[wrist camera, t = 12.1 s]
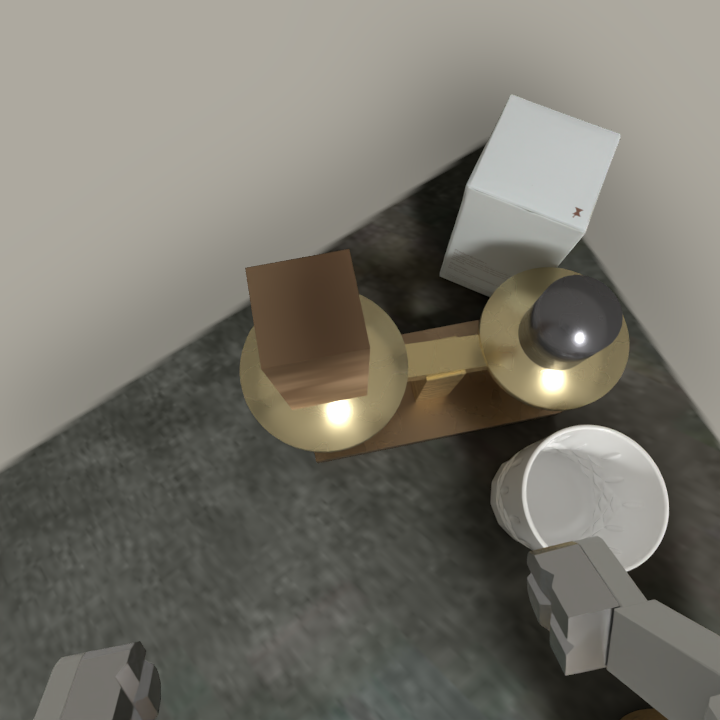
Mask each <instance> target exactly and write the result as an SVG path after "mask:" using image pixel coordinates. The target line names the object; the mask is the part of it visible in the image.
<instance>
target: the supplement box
mask: <svg viewBox="0 0 720 720" xmlns="http://www.w3.org/2000/svg"><path fill="white" fill-rule="evenodd" d="M620 137H621V135H620V134H619V133H617V132H614V131H611V130H608V129H605V128H602V127H600V126H597V125H594V124H591V123H588V122H586V121H583V120H580V119H578V118H575V117H572V116H569V115H567V114H564V113H561V112H558V111H556V110H553V109H550V108H547V107H545V106H542V105H539V104H537V103H534V102H531V101H529V100H526V99H523V98H520V97H518V96H515V95H510V97H509V99H508V101H507V103H506V105H505V107H504V109H503V111H502V113H501V115H500V117H499V119H498V122H497V123H496V125H495V128H494V130H493V131H492V133H491V136H490V137H489V139H488V141H487V143H486V145H485V147H484V149H483V151H482V153H481V155H480V157H479V159H478V161H477V164H476V166H475V168H474V170H473V172H472V174H471V176H470V178H469V180H468V182H467V184H466V187H465V192H464V196H463V200H462V203H461V206H460V209H459V213H458V216H457V219H456V222H455V225H454V228H453V231H452V234H451V238H450V241H449V244H448V247H447V250H446V253H445V257H444V261H443V264H442V267H441V271H440V277H442V278H445V279H447V280H450V281H452V282H454V283H457V284H459V285H461V286H464V287H466V288H469V289H471V290H474V291H476V292H478V293H481V294H483V295H486V296H488V297H491V296H492V294H493V293H494V292H495V290H496V289H497V288H498V287H499V286H500V285H501V284H502V283H504V282H505V281H506V280H508V279H509V278H511V277H512V276H514V275H516V274H518V273H521V272H523V271H526V270H530V269H534V268H542V267H554V268H557V267H558V265H559V264H560V263H561V262H562V261H563V259H564V258H565V257H566V256H567V255H568V253H569V252H570V251H571V250H572V249H573V247H574V246H575V245H576V244H577V242H578V241H579V240H580V239H581V238H582V237H583V235H584V234H585V232H586V230H587V227H588V224H589V221H590V218H591V216H592V213H593V210H594V208H595V204H596V202H597V199H598V196H599V194H600V191H601V188H602V185H603V182H604V180H605V177H606V174H607V171H608V168H609V166H610V163H611V160H612V158H613V155H614V153H615V150H616V148H617V145H618V142H619V140H620Z"/></svg>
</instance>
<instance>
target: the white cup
mask: <svg viewBox="0 0 720 720" xmlns="http://www.w3.org/2000/svg"><path fill="white" fill-rule="evenodd" d="M490 504H491V506H492V509H493V511H494V514H495V517H496V519H497V522H498V524H499V525H500V526H501V527H502V528H503V529H504V530H505V531H506V532H507V533H508V534H509V535H510V536H511V537H512V538H513V539H514V540H515V541H517V542H520V543H522V544H523V545H525V546H526V547H527V548H529V549H531V550H537V549H541V548H545V547H549V546H553V545H557V544H561V543H566V542H570V541H573V542H574V541H577V540H581V539H585V538H589V537H593V536H599V537H600V538H602V539H603V540H604V542H605V543H606V544H607V546H608V547H609V549H610V550H611V551H612V553H613V554H614V555H615V557H616V558H617V560H618V561H619V562H620V564H621V565H622V566H623V568H624V569H625V570H626V572H627V571H630V570H632V569H634V568H636V567H638V566H639V565H641V564H642V563H644V562H645V561H646V560H647V559H648V558H649V557H650V556H651V555H652V554H653V553H654V552H655V550H656V549H657V548H658V546H659V544H660V543H661V541H662V539H663V536H664V534H665V531H666V528H667V523H668V517H669V500H668V494H667V489H666V486H665V482H664V480H663V477H662V475H661V473H660V471H659V469H658V467H657V466H656V464H655V462H654V461H653V460H652V458H651V457H650V456H649V454H648V453H647V452H646V451H645V450H644V449H643V448H642V447H641V446H640V445H639V444H637V443H636V442H635V441H634V440H632V439H631V438H629V437H628V436H626V435H624V434H622V433H620V432H618V431H616V430H613V429H610V428H607V427H603V426H598V425H576V426H571V427H567V428H564V429H562V430H559V431H557V432H555V433H553V434H551V435H549V436H547V437H545V438H543V439H541V440H539V441H537V442H535V443H533V444H531V445H529V446H527V447H526V448H524V449H523V450H521V451H519V452H518V453H516V454H515V455H514V456H513V457H512V458H510V459H509V460H507V461H505V462H504V463H502V464H501V466H500V468H499V470H498V471H497V473H496V475H495V477H494V478H493V480H492V483H491V501H490Z"/></svg>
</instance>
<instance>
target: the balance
mask: <svg viewBox="0 0 720 720" xmlns="http://www.w3.org/2000/svg"><path fill="white" fill-rule="evenodd" d="M359 297H360V302H361V306H362V311H363V316H364V321H365V325H366V330H367V335H368V339H369V344H370V361H369V376H368V392H367V395H366V396H361V397H356V398H351V399H346V400H341V401H336V402H331V403H326V404H320V405H315V406H310V407H305V408H300V409H295V410H292V409H291V408H290V406H289V405H288V404H287V402H286V401H285V400H284V398H283V397H282V396H281V395H280V393H279V392H278V391H277V389H276V388H275V387H274V385H273V384H272V383H271V381H270V380H269V379H268V377H267V376H266V375H265V373H264V372H263V371H262V370H261V366H260V359H259V353H258V346H257V340H256V334H255V327H254V326H253V328H252V329H251V331H250V333H249V335H248V337H247V339H246V341H245V344H244V347H243V350H242V355H241V360H240V381H241V386H242V391H243V395H244V397H245V400H246V403H247V405H248V407H249V408H250V410H251V412H252V414H253V415H254V416H255V418H256V419H257V421H258V422H259V423H260V424H261V425H262V426H263V427H264V428H265V429H266V430H267V431H268V432H270V433H271V434H272V435H273V436H275V437H276V438H277V439H279V440H281V441H282V442H284V443H286V444H288V445H290V446H293V447H295V448H298V449H302V450H305V451H311V452H315V457H316V462H317V463H322V462H327V461H332V460H337V459H341V458H346V457H351V456H356V455H361V454H366V453H371V452H376V451H381V450H386V449H391V448H396V447H401V446H406V445H411V444H416V443H421V442H426V441H430V440H435V439H440V438H445V437H450V436H455V435H460V434H465V433H470V432H475V431H480V430H485V429H490V428H495V427H500V426H505V425H510V424H514V423H519V422H524V421H529V420H534V419H539V418H544V417H549V416H554V415H557V414H559V413H561V412H562V411H565V410H572V409H576V408H579V407H582V406H585V405H587V404H589V403H592V402H594V401H596V400H598V399H599V398H601V397H602V396H604V395H605V394H606V393H607V392H609V391H610V390H611V389H612V388H613V387H614V385H615V384H616V383H617V382H618V380H619V379H620V377H621V376H622V373H623V371H624V369H625V367H626V363H627V360H628V354H629V335H628V329H627V325H626V322H625V319H624V317H623V315H622V309H621V305H620V303H619V301H618V299H617V297H616V296H615V294H614V293H613V292H612V291H611V289H610V288H609V287H607V286H606V285H605V284H604V283H602V282H600V281H599V280H597V279H594V278H592V277H588V276H584V275H581V274H579V273H576V272H574V271H571V270H566V269H562V268H554V267H542V268H534V269H530V270H526V271H523V272H521V273H518V274H516V275H514V276H512V277H511V278H509V279H508V280H506V281H505V282H504V283H502V284H501V285H500V286H499V287H498V288H497V289H496V290H495V292H494V293H493V294H492V296H491V297H490V298H489V300H488V302H487V303H486V305H485V307H484V309H483V311H482V314H481V317H480V320H475V321H470V322H465V323H459V324H454V325H449V326H444V327H438V328H433V329H428V330H423V331H418V332H412V333H407V334H402V335H401V334H400V332H399V330H398V328H397V327H396V325H395V323H394V322H393V321H392V319H391V318H390V317H389V316H388V314H387V313H386V312H385V311H383V310H382V309H381V308H380V307H379V306H378V305H376V304H375V303H374V302H372V301H371V300H369V299H367V298H365V297H363V296H362V295H359Z"/></svg>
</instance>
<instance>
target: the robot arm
mask: <svg viewBox="0 0 720 720" xmlns="http://www.w3.org/2000/svg"><path fill="white" fill-rule="evenodd" d="M527 565H528V567H529V569H530V571H531V573H530V575H529V576H528V577H527V590H528V595H529V599H530V603H531V605H532V608H533V611H534V613H535V615H536V617H537V620H538V622H539V624H540V625H542V626H543V627H545V628H546V629H548V630H549V631H550V646H551V648H552V650H553V652H554V654H555V656H556V658H557V660H558V662H559V664H560V666H561V668H562V670H563V672H564V674H565V676H567V675H572V674H576V673H581V672H586V671H591V670H595V669H600V668H605V667H607V670H608V671H609V672H610V673H612V674H613V675H614V676H615V677H617V678H618V679H619V680H620V681H621V682H623V683H624V684H625V685H626V686H628V687H629V688H630V689H631V690H633V691H634V692H635V693H636V694H637V695H639V696H640V697H641V698H642V699H644V700H645V701H646V702H647V703H649V704H650V705H651V706H652V707H653V708H655V709H656V710H657V711H658V712H660V713H661V714H662V715H663V716H665V717H666V718H667V719H668V720H720V636H719V635H717V634H715V633H713V632H712V631H710V630H708V629H706V628H705V627H703V626H701V625H699V624H697V623H696V622H694V621H692V620H690V619H689V618H687V617H685V616H683V615H682V614H680V613H678V612H676V611H674V610H673V609H671V608H669V607H667V606H666V605H664V604H662V603H660V602H659V601H657V600H655V599H654V600H649V601H647V599H646V598H645V596H644V595H643V594H642V592H641V591H640V590H639V588H638V587H637V586H636V584H635V583H634V581H633V580H632V579H631V577H630V576H629V575H628V573H627V572H626V570H625V569H624V568H623V566H622V565H621V564H620V562H619V561H618V560H617V558H616V557H615V555H614V554H613V553H612V551H611V550H610V549H609V547H608V546H607V544H606V543H605V542H604V540H603V539H602V538H600V537H599V536H593V537H589V538H585V539H581V540H577V541H574V542H573V541H570V542H566V543H561V544H557V545H553V546H549V547H545V548H541V549H537V550H533V551H529V552H528V554H527ZM145 655H146V650H145V648H144V646H143V645H142V643H141V642H140V641H139V642H134V643H129V644H124V645H119V646H114V647H110V648H105V649H100V650H95V651H90V652H85V653H80V654H76V655H71V656H67V657H62V658H60V660H59V661H58V662H57V664H56V665H55V666H54V668H53V671H52V673H51V676H50V678H49V681H48V684H47V686H46V689H45V692H44V694H43V697H42V699H41V702H40V705H39V707H38V710H37V713H36V715H35V718H34V720H155V718H156V717H157V715H158V713H159V707H160V701H161V682H160V678H159V674H158V671H157V669H156V667H155V665H154V664H152V663H150V662H148V661H145Z"/></svg>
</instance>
